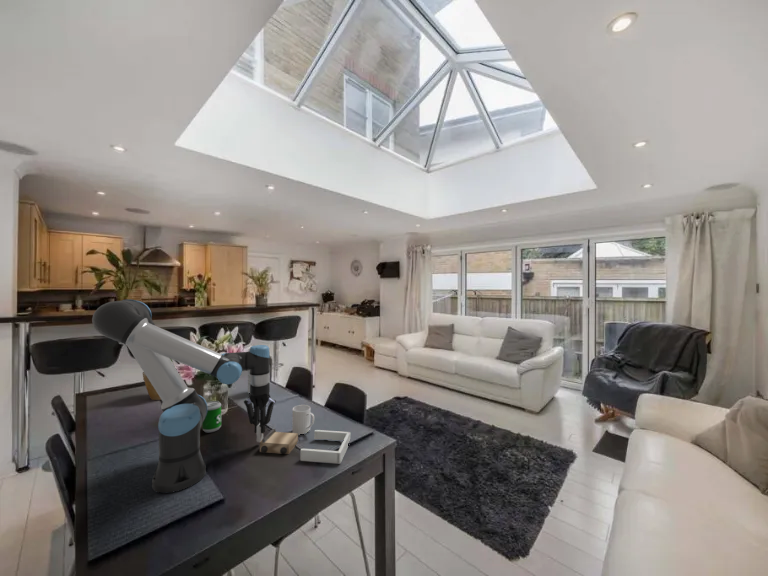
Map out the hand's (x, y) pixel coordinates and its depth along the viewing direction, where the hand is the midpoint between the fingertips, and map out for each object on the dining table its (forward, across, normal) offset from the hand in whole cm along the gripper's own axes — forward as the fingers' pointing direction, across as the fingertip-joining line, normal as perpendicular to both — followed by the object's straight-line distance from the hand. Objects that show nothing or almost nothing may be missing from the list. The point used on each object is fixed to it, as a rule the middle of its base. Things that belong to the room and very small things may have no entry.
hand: (259, 440), depth 127 cm
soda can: (+2, +29, -10) cm, 31 cm away
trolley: (+2, -8, 0) cm, 9 cm away
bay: (+2, -28, 0) cm, 29 cm away
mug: (+2, -14, -13) cm, 19 cm away
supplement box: (+2, +32, -58) cm, 67 cm away
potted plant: (+2, +84, -44) cm, 95 cm away
